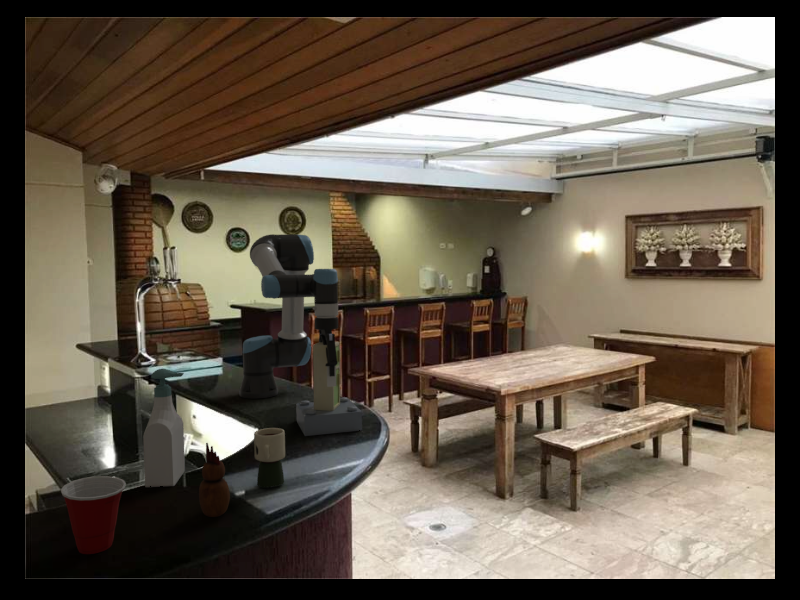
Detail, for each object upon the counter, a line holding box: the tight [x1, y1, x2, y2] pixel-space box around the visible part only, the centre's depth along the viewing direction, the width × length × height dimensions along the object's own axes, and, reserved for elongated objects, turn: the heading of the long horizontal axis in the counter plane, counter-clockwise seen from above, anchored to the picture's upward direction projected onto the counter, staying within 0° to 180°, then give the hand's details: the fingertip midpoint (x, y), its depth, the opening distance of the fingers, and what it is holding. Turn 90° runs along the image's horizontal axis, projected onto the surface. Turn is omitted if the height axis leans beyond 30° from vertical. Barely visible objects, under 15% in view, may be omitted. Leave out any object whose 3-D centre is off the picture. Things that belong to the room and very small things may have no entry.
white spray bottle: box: [142, 368, 186, 488], centre depth 145 cm, size 11×8×27 cm
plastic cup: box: [60, 475, 127, 555], centre depth 110 cm, size 11×11×12 cm
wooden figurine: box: [198, 442, 231, 518], centre depth 124 cm, size 7×6×15 cm
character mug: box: [253, 427, 286, 489], centre depth 140 cm, size 11×7×13 cm, turn 4°
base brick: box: [295, 396, 363, 437], centre depth 191 cm, size 18×18×7 cm
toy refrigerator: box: [312, 341, 341, 411], centre depth 190 cm, size 8×7×21 cm
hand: (327, 382), depth 191 cm, fingers open, 13 cm apart
